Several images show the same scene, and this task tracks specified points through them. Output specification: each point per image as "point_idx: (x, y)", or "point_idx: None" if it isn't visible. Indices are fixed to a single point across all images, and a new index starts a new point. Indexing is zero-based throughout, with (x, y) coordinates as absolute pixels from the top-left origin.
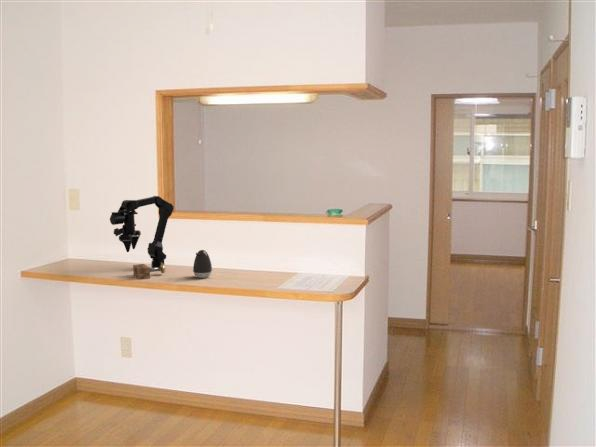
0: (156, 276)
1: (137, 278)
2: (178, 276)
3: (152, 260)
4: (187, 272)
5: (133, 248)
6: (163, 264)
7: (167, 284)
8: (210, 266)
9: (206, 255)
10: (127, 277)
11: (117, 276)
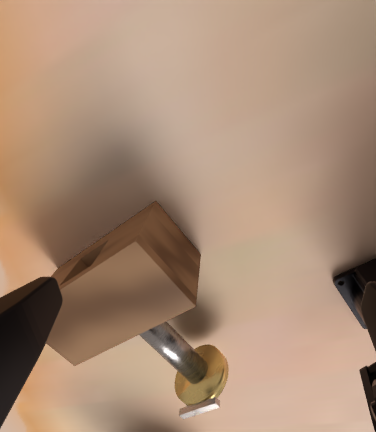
0: None
1: (79, 254)
2: None
3: None
4: (275, 414)
5: (368, 302)
6: (182, 412)
7: (22, 389)
8: None
9: None
10: (88, 184)
11: (97, 91)
